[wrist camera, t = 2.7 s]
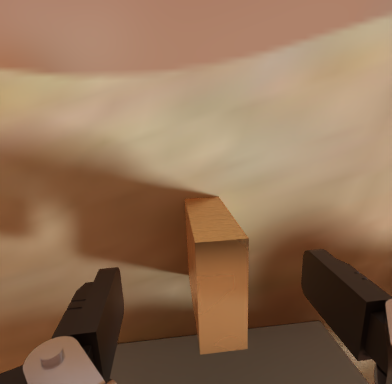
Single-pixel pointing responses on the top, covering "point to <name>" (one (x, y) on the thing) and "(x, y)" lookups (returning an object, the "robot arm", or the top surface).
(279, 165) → the top surface
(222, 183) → the top surface
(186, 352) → the box
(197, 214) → the wooden block
